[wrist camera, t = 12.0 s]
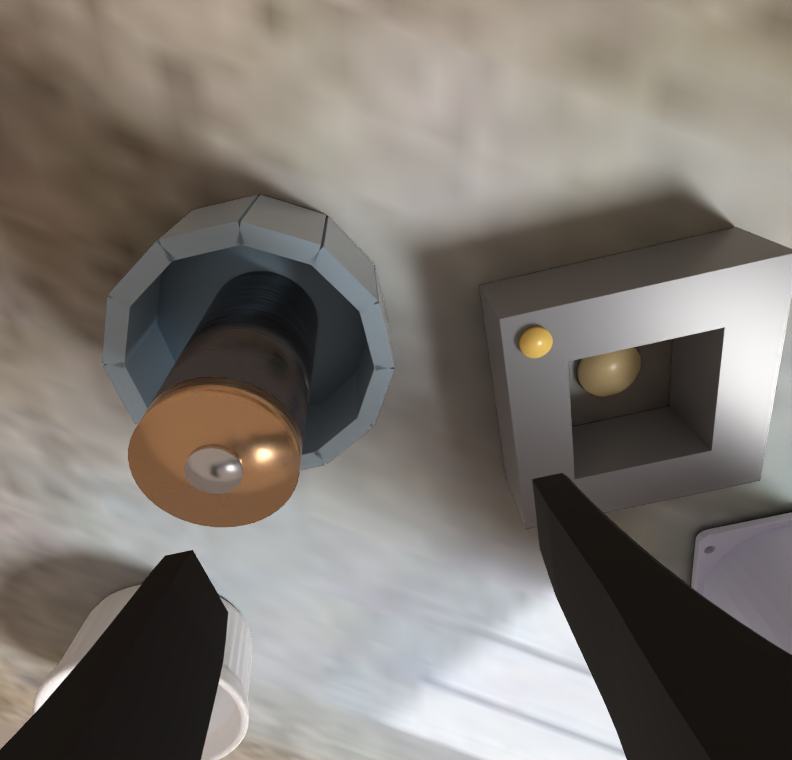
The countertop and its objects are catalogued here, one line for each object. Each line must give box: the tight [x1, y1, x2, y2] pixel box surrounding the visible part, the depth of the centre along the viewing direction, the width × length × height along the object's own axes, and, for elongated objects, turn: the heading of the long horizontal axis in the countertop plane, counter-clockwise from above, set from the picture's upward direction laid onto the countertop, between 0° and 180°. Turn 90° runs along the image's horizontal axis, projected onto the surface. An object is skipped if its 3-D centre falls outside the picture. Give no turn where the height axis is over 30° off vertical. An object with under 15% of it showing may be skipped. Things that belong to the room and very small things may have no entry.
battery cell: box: [128, 271, 318, 527], centre depth 15 cm, size 4×4×8 cm
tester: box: [479, 227, 792, 529], centre depth 20 cm, size 9×9×3 cm
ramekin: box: [33, 584, 252, 760], centre depth 25 cm, size 9×9×4 cm
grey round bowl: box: [102, 195, 395, 470], centre depth 17 cm, size 8×8×4 cm
